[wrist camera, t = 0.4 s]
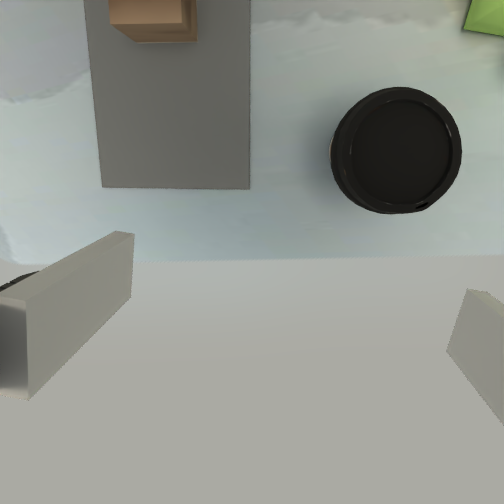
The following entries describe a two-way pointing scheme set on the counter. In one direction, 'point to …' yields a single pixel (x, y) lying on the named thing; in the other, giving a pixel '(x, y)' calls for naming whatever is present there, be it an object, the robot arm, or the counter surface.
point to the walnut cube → (155, 20)
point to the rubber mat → (173, 102)
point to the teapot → (486, 17)
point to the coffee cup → (396, 151)
